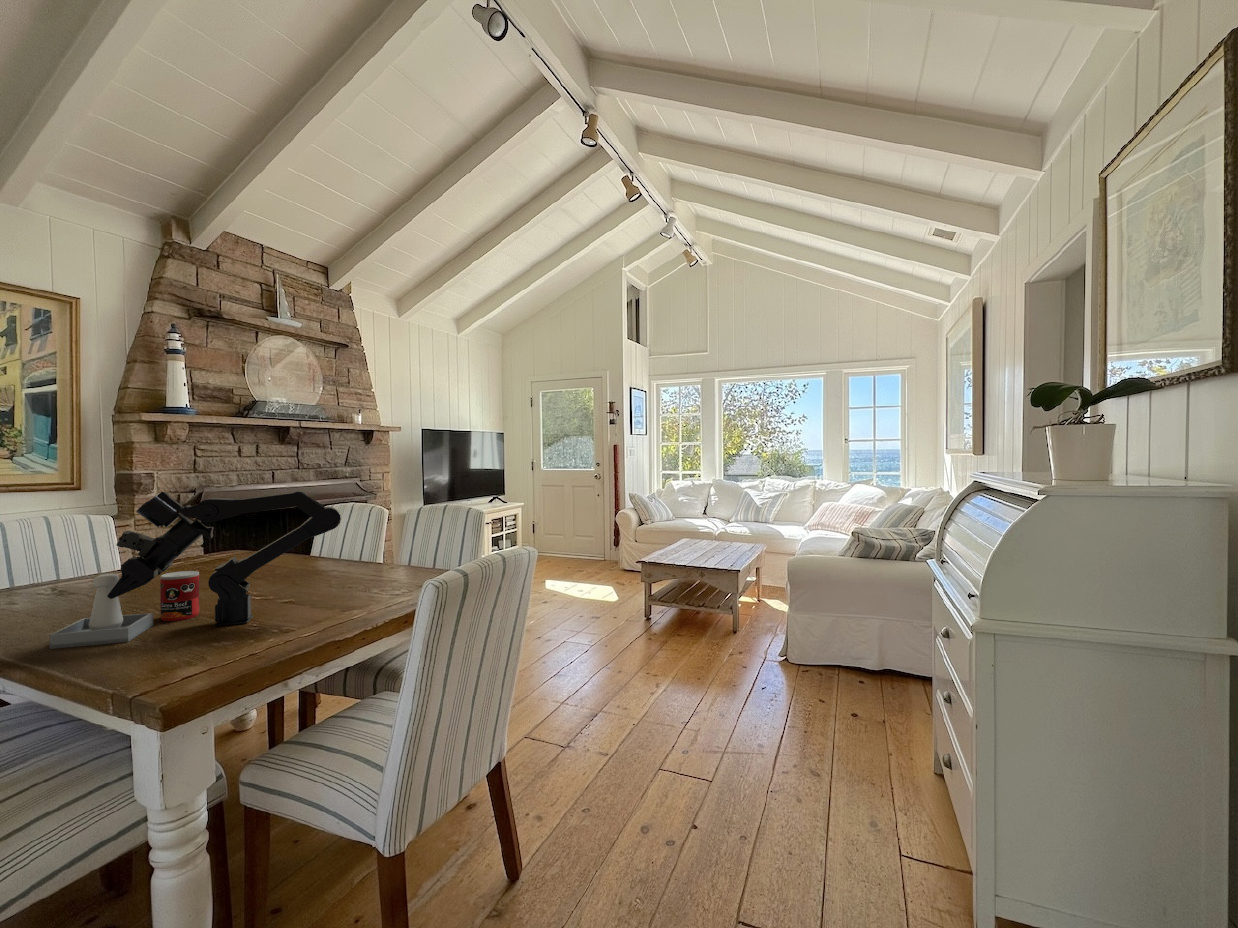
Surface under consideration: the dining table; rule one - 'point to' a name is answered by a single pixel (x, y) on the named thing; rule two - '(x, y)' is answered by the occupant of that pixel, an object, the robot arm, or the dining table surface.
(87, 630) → the tray
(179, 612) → the canned food
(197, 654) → the dining table surface
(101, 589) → the salt shaker
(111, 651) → the dining table surface
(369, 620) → the dining table surface
